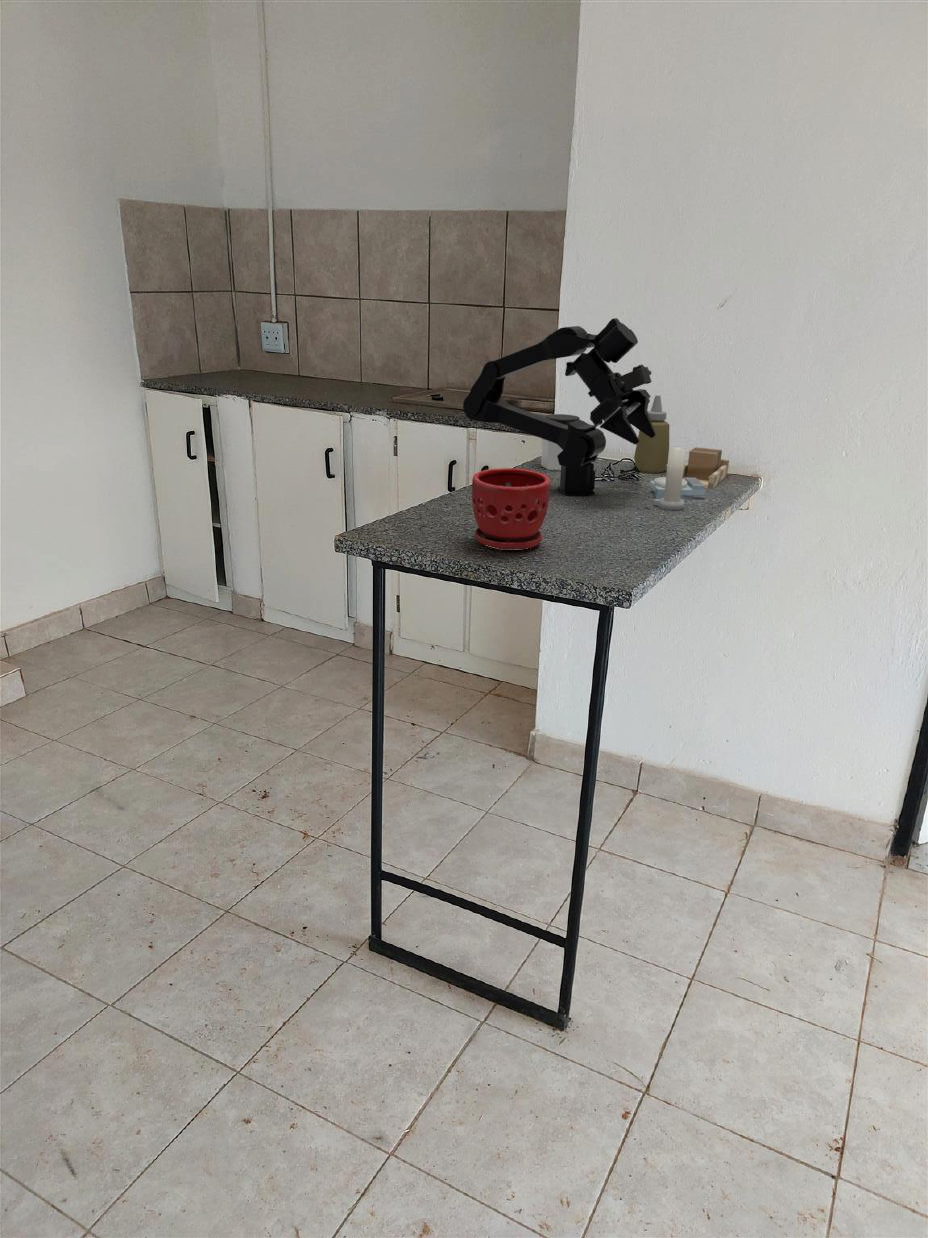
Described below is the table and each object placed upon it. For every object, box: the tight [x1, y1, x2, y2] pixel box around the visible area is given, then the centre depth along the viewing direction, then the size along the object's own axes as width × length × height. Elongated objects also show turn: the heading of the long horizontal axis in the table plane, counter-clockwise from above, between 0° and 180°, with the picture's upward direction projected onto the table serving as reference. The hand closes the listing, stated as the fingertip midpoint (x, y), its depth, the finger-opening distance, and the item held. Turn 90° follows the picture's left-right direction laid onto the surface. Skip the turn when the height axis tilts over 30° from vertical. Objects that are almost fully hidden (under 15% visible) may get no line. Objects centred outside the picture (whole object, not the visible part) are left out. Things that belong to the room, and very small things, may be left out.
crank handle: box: [652, 446, 687, 512], centre depth 179 cm, size 6×5×12 cm
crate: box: [686, 446, 723, 480], centre depth 203 cm, size 6×6×6 cm
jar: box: [540, 413, 581, 472], centre depth 213 cm, size 9×8×12 cm
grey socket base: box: [649, 476, 706, 501], centre depth 191 cm, size 10×8×3 cm
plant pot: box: [471, 467, 551, 549], centre depth 152 cm, size 13×13×12 cm
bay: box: [682, 458, 730, 490], centre depth 201 cm, size 16×9×4 cm, turn 153°
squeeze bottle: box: [633, 395, 670, 474], centre depth 207 cm, size 8×8×18 cm
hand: (645, 439), depth 180 cm, fingers open, 9 cm apart
